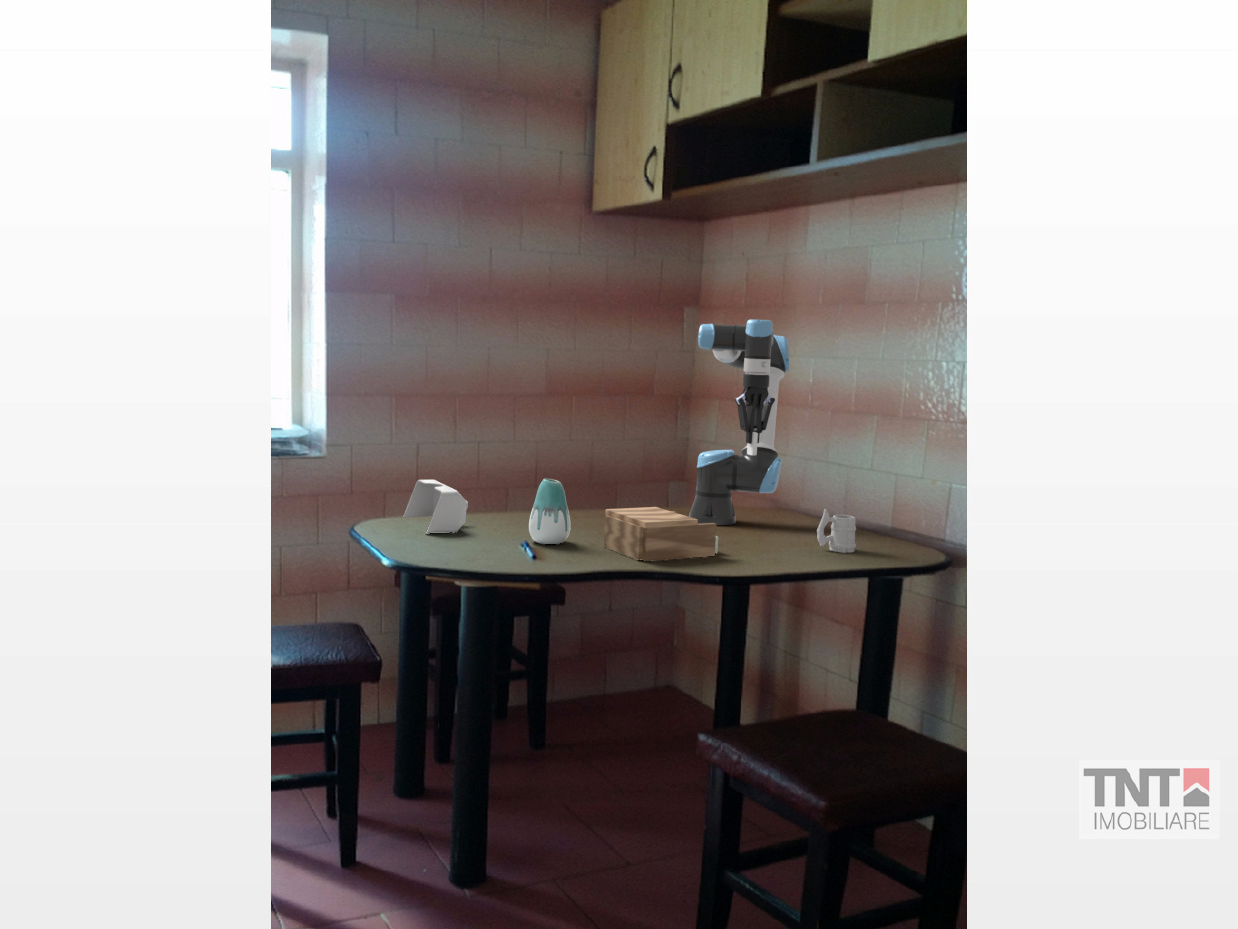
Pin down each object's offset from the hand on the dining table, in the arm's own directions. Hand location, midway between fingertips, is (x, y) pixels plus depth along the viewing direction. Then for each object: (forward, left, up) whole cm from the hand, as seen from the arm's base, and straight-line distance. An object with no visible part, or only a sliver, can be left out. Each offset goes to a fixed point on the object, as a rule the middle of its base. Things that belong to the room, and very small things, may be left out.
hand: (751, 454), depth 307 cm
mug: (+18, +18, -26) cm, 37 cm away
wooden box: (+4, -34, -26) cm, 43 cm away
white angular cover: (-48, -77, -26) cm, 94 cm away
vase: (-16, -57, -26) cm, 64 cm away
